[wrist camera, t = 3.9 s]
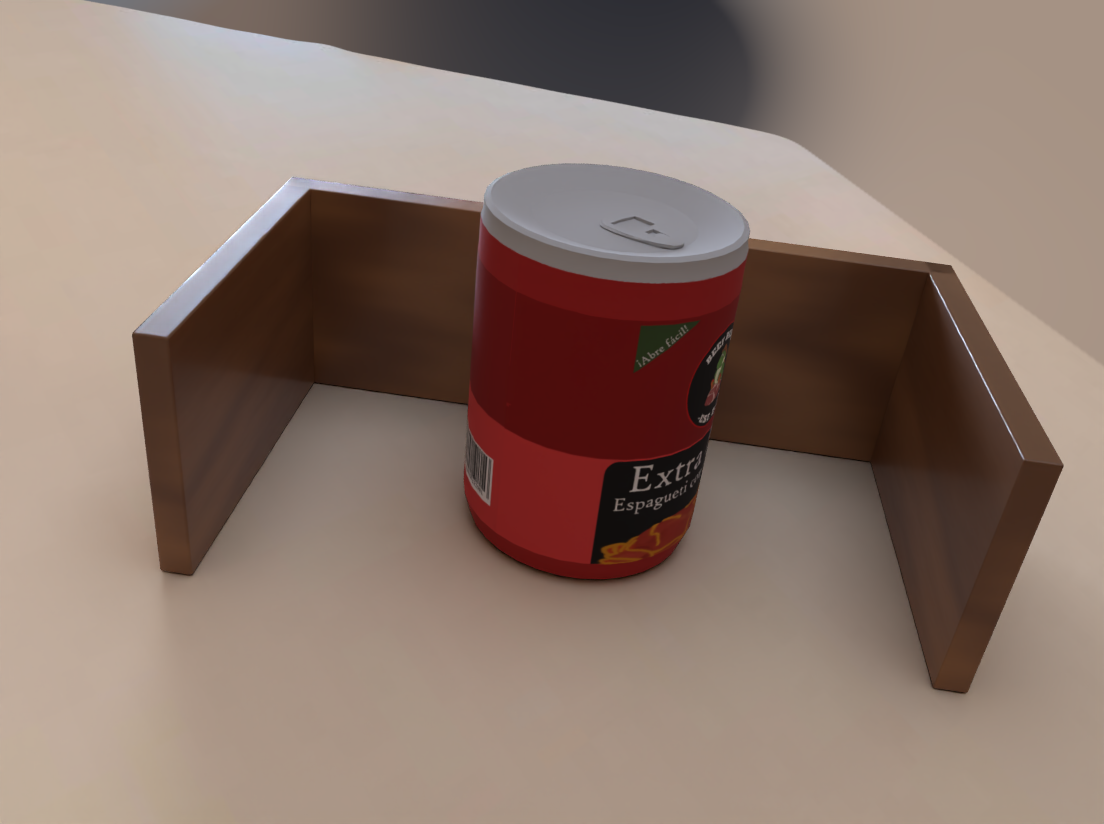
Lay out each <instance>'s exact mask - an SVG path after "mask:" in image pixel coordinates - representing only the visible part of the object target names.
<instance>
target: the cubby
mask: <svg viewBox="0 0 1104 824" xmlns="http://www.w3.org/2000/svg"><path fill="white" fill-rule="evenodd" d="M483 205H484V203H483V202H475V201H468V200H460V199H453V198H445V197H438V196H430V195H423V194H416V193H408V192H401V191H393V190H386V189H378V188H371V187H363V186H356V185H348V184H341V183H334V182H326V181H319V180H311V179H304V178H296V177H292V178H291V179H290V180H289V181H288V182H287V183H286V184H285V185H284V186H283V187H282V188H281V189H280V190H279V191H278V192H277V193H276V194H275V195H274V196H273V197H272V198H271V199H270V200H269V201H268V202H267V203H266V204H265V205H263V206H262V207H261V208H260V209H259V210H258V211H257V212H256V213H255V214H254V215H253V216H252V217H251V218H250V219H249V220H248V221H247V222H246V223H245V224H244V225H243V226H242V227H241V228H240V229H239V230H238V231H237V232H236V233H235V234H234V235H233V236H232V237H231V238H230V239H229V240H227V241H226V242H225V243H224V244H223V245H222V246H221V247H220V248H219V249H218V250H217V251H216V252H215V253H214V254H213V255H212V256H211V257H210V258H209V259H208V260H207V261H206V262H205V263H204V264H203V265H202V266H201V267H200V268H199V269H198V270H197V271H196V272H195V273H194V274H193V275H192V276H190V277H189V278H188V279H187V280H186V281H185V282H184V283H183V284H182V285H181V286H180V287H179V288H178V289H177V290H176V291H175V292H174V293H173V294H172V295H171V296H170V297H169V298H168V299H167V300H166V301H165V302H164V303H163V304H162V305H161V306H160V307H159V308H158V309H157V310H156V311H155V312H153V313H152V314H151V315H150V316H149V317H148V318H147V319H146V320H145V321H144V322H143V323H142V324H141V325H140V326H139V327H138V328H137V329H136V330H135V331H134V332H133V334H132V338H133V346H134V355H135V363H136V371H137V379H138V388H139V396H140V404H141V412H142V421H143V429H144V437H145V445H146V453H147V462H148V470H149V478H150V486H151V495H152V503H153V511H154V519H155V528H156V536H157V544H158V552H159V560H160V569H161V570H162V571H169V572H175V573H182V574H188V575H191V574H193V572H194V571H195V569H196V568H197V566H198V564H199V563H200V561H201V560H202V558H203V557H204V555H205V553H206V552H207V550H208V549H209V547H210V545H211V544H212V542H213V541H214V539H215V538H216V536H217V534H218V533H219V531H220V530H221V528H222V527H223V525H224V523H225V522H226V520H227V519H228V517H229V515H230V514H231V512H232V511H233V509H234V508H235V506H236V504H237V503H238V501H239V500H240V498H241V497H242V495H243V493H244V492H245V490H246V489H247V487H248V485H249V484H250V482H251V481H252V479H253V478H254V476H255V474H256V473H257V471H258V470H259V468H260V466H261V465H262V463H263V462H264V460H265V459H266V457H267V455H268V454H269V452H270V451H271V449H272V448H273V446H274V444H275V443H276V441H277V440H278V438H279V436H280V435H281V433H282V432H283V430H284V429H285V427H286V425H287V424H288V422H289V421H290V419H291V418H292V416H293V414H294V413H295V411H296V410H297V408H298V406H299V405H300V403H301V402H302V400H303V399H304V397H305V395H306V394H307V392H308V391H309V389H310V387H311V386H312V384H313V383H314V382H317V383H324V384H331V385H338V386H345V387H352V388H359V389H366V390H373V391H380V392H387V393H394V394H401V395H408V396H415V397H422V398H429V399H436V400H443V401H450V402H457V403H464V404H468V400H469V384H470V367H471V351H472V335H473V318H474V302H475V285H476V269H477V253H478V243H479V233H480V218H481V211H482V208H483ZM748 247H749V251H748V256H747V260H746V265H745V270H744V275H743V282H742V288H741V293H740V297H739V302H738V307H737V311H736V316H735V321H734V325H733V330H732V335H731V339H730V344H729V348H728V353H727V358H726V362H725V367H724V372H723V376H722V381H721V386H720V390H719V395H718V400H717V404H716V409H715V414H714V418H713V423H712V428H711V432H710V437H709V439H716V440H723V441H730V442H737V443H744V444H751V445H758V446H765V447H772V448H779V449H786V450H793V451H800V452H807V453H814V454H821V455H828V456H835V457H842V458H849V459H856V460H863V461H870V462H871V464H872V468H873V472H874V475H875V479H876V482H877V486H878V490H879V493H880V497H881V500H882V504H883V508H884V511H885V515H886V519H887V522H888V526H889V529H890V533H891V537H892V540H893V544H894V547H895V551H896V555H897V558H898V562H899V565H900V569H901V573H902V576H903V580H904V583H905V587H906V591H907V594H908V598H909V601H910V605H911V609H912V612H913V616H914V620H915V623H916V627H917V630H918V634H919V638H920V641H921V645H922V648H923V652H924V656H925V659H926V663H927V666H928V670H929V674H930V677H931V681H932V684H933V687H934V688H938V689H944V690H951V691H957V692H964V693H967V692H968V690H969V687H970V685H971V683H972V680H973V678H974V676H975V673H976V671H977V668H978V666H979V664H980V661H981V659H982V657H983V654H984V652H985V650H986V647H987V645H988V643H989V640H990V638H991V636H992V633H993V631H994V629H995V626H996V624H997V621H998V619H999V617H1000V614H1001V612H1002V610H1003V607H1004V605H1005V603H1006V600H1007V598H1008V596H1009V593H1010V591H1011V589H1012V586H1013V584H1014V582H1015V579H1016V577H1017V574H1018V572H1019V570H1020V567H1021V565H1022V563H1023V560H1024V558H1025V556H1026V553H1027V551H1028V549H1029V546H1030V544H1031V542H1032V539H1033V537H1034V535H1035V532H1036V530H1037V528H1038V525H1039V523H1040V520H1041V518H1042V516H1043V513H1044V511H1045V509H1046V506H1047V504H1048V502H1049V499H1050V497H1051V495H1052V492H1053V490H1054V488H1055V485H1056V483H1057V481H1058V478H1059V476H1060V473H1061V471H1062V469H1063V463H1062V461H1061V460H1060V458H1059V456H1058V454H1057V453H1056V451H1055V449H1054V447H1053V445H1052V444H1051V442H1050V440H1049V438H1048V437H1047V435H1046V433H1045V431H1044V429H1043V428H1042V426H1041V424H1040V422H1039V421H1038V419H1037V417H1036V415H1035V413H1034V412H1033V410H1032V408H1031V406H1030V405H1029V403H1028V401H1027V399H1026V398H1025V396H1024V394H1023V392H1022V390H1021V389H1020V387H1019V385H1018V383H1017V382H1016V380H1015V378H1014V376H1013V374H1012V373H1011V371H1010V369H1009V367H1008V366H1007V364H1006V362H1005V360H1004V358H1003V357H1002V355H1001V353H1000V351H999V350H998V348H997V346H996V344H995V343H994V341H993V339H992V337H991V335H990V334H989V332H988V330H987V328H986V327H985V325H984V323H983V321H982V319H981V318H980V316H979V314H978V312H977V311H976V309H975V307H974V305H973V303H972V302H971V300H970V298H969V296H968V295H967V293H966V291H965V289H964V287H963V286H962V284H961V282H960V280H959V279H958V277H957V275H956V273H955V271H954V270H953V268H952V266H951V265H944V264H937V263H929V262H922V261H914V260H907V259H900V258H892V257H885V256H877V255H870V254H862V253H855V252H847V251H840V250H833V249H825V248H818V247H810V246H803V245H795V244H788V243H780V242H773V241H766V240H758V239H751V238H749V240H748Z"/></svg>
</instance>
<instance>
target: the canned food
mask: <svg viewBox="0 0 1104 824" xmlns="http://www.w3.org/2000/svg"><path fill="white" fill-rule="evenodd" d="M749 235H750V228H749V224H748V221H747V220H746V219H745V217H744V216H743V215H742V213H741V212H739V211H738V210H737V209H736V208H735V207H733V206H732V205H731V204H730V203H728V202H726V201H725V200H723V199H721V198H719V197H718V196H716V195H714V194H712V193H711V192H708V191H706V190H704V189H702V188H699V187H697V186H695V185H692V184H689V183H686V182H683V181H680V180H678V179H675V178H671V177H667V176H663V175H660V174H656V173H652V172H647V171H642V170H636V169H631V168H624V167H617V166H609V165H597V164H551V165H541V166H535V167H529V168H524V169H521V170H517V171H514V172H510V173H507V174H505V175H503V176H501V177H499V178H497V179H495V180H494V181H493V182H492V183H491V184H490V185H489V186H488V187H487V189H486V192H485V194H484V205H483V208H482V211H481V218H480V233H479V243H478V253H477V269H476V285H475V302H474V318H473V335H472V351H471V367H470V384H469V400H468V417H467V433H466V450H465V466H464V488H465V495H466V498H467V502H468V505H469V508H470V512H471V514H472V517H473V519H474V521H475V524H476V525H477V527H478V528H479V529H480V531H481V532H482V533H483V535H484V536H485V537H486V538H487V539H488V540H489V541H490V542H491V543H492V544H493V545H495V546H496V547H497V548H498V549H499V550H501V551H502V552H504V553H506V554H507V555H509V556H510V557H512V558H514V559H515V560H517V561H519V562H522V563H524V564H526V565H529V566H531V567H533V568H535V569H538V570H542V571H545V572H549V573H552V574H556V575H560V576H566V577H573V578H579V579H610V578H619V577H626V576H630V575H633V574H637V573H640V572H644V571H646V570H648V569H650V568H652V567H654V566H656V565H658V564H660V563H661V562H662V561H663V560H665V559H666V558H667V557H668V556H670V555H671V554H672V552H673V551H674V549H675V548H676V546H677V545H678V544H679V542H680V540H681V539H682V537H683V536H684V534H685V533H686V531H687V530H688V528H689V526H690V523H691V519H692V515H693V511H694V507H695V502H696V497H697V493H698V488H699V483H700V479H701V474H702V469H703V465H704V460H705V456H706V451H707V446H708V442H709V437H710V432H711V428H712V423H713V418H714V414H715V409H716V404H717V400H718V395H719V390H720V386H721V381H722V376H723V372H724V367H725V362H726V358H727V353H728V348H729V344H730V339H731V335H732V330H733V325H734V321H735V316H736V311H737V307H738V302H739V297H740V293H741V288H742V282H743V275H744V270H745V265H746V260H747V256H748V251H749V247H748V240H749Z"/></svg>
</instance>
